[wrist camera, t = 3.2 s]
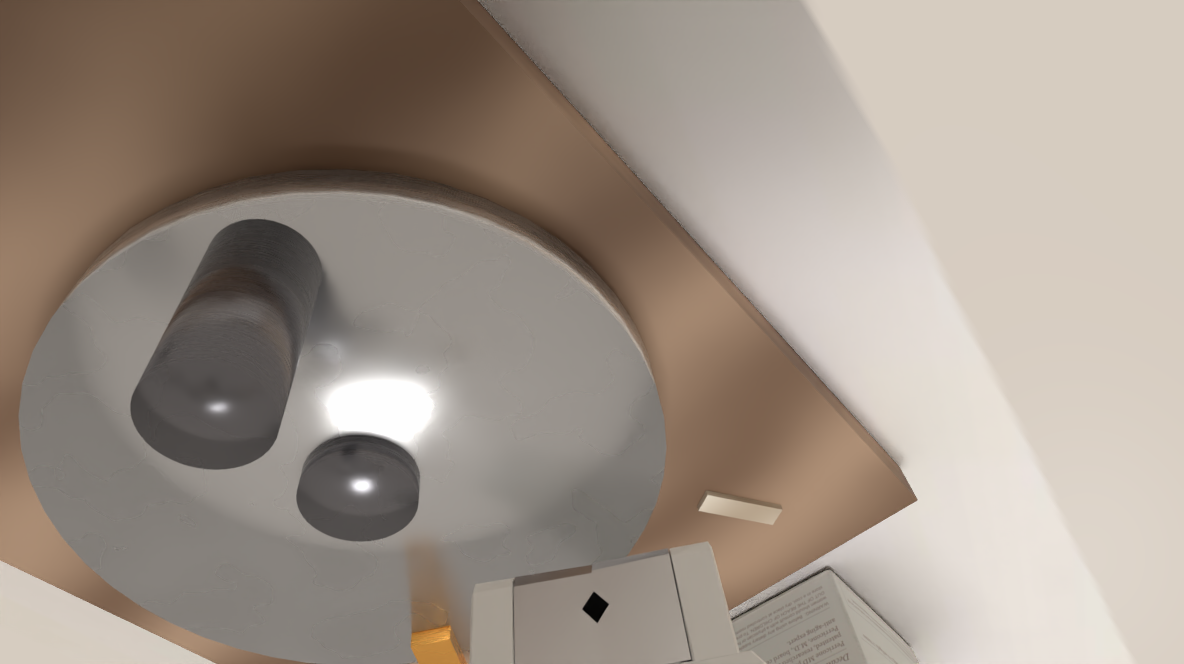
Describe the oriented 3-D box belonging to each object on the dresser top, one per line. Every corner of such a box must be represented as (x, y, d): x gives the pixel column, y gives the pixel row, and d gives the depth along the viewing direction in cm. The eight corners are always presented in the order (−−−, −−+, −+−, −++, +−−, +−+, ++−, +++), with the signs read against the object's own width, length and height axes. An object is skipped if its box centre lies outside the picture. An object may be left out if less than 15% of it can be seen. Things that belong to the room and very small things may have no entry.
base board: (-357, 329, 22) (-414, 370, 21) (161, -349, 16) (130, -355, 14) (450, 738, 36) (448, 779, 34) (899, 467, 29) (920, 504, 28)
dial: (694, 617, 30) (740, 810, 25) (237, 707, 30) (186, 917, 25) (607, 103, 19) (654, 249, 14) (-99, 249, 20) (-313, 446, 14)
